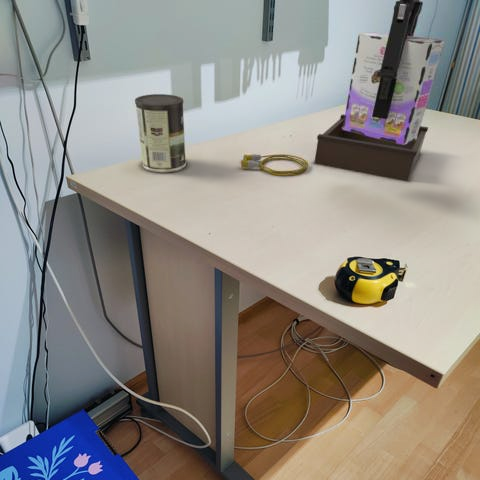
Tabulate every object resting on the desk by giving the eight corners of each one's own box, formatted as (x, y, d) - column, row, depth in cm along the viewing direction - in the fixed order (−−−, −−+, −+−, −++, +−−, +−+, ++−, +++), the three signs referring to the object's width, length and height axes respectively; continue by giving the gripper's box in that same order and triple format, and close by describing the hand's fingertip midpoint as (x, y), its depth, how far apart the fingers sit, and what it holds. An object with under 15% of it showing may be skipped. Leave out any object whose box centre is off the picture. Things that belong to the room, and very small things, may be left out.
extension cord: (253, 153, 108) (253, 145, 107) (312, 163, 104) (314, 155, 103) (235, 168, 99) (235, 160, 98) (299, 180, 95) (300, 171, 94)
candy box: (417, 140, 82) (447, 39, 71) (403, 146, 78) (432, 41, 68) (355, 124, 89) (374, 30, 78) (340, 129, 85) (358, 32, 75)
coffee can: (179, 155, 105) (175, 92, 96) (191, 170, 98) (189, 103, 89) (137, 159, 102) (130, 94, 93) (147, 175, 94) (140, 106, 85)
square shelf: (420, 153, 113) (428, 127, 109) (408, 181, 97) (416, 152, 93) (337, 139, 120) (342, 114, 116) (313, 163, 104) (317, 135, 100)
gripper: (405, -43, 74) (374, 100, 89) (384, -49, 60) (351, 122, 75) (450, -42, 72) (410, 105, 87) (439, -47, 58) (394, 129, 73)
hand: (383, 112), depth 81 cm, fingers closed on candy box, 7 cm apart
